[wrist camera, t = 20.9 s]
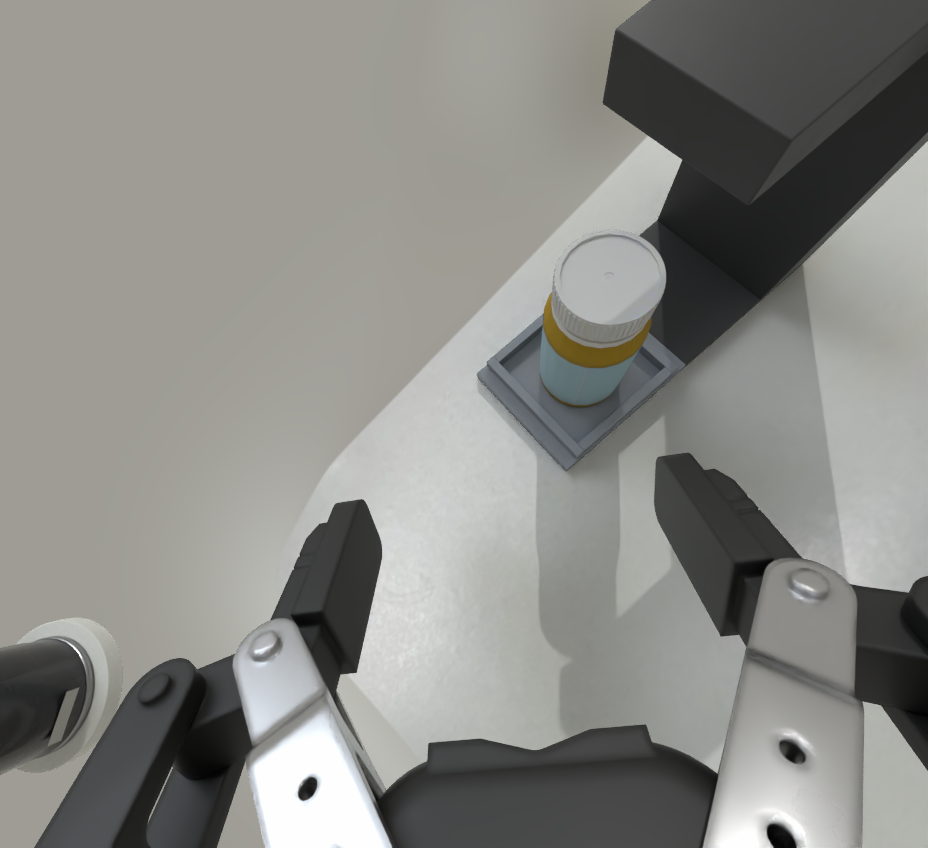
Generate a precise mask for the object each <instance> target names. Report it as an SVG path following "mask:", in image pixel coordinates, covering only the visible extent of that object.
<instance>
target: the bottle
mask: <svg viewBox="0 0 928 848" xmlns="http://www.w3.org/2000/svg"><path fill="white" fill-rule="evenodd" d="M665 284H666V270H665V265H664V262H663V260H662V258H661V256H660V254H659V253H658V251H657V250H656V249H655V248H654V247H653V246H652V245H651V244H650V243H649V242H648V241H646V240H645V239H643V238H642V237H640V236H638V235H635V234H633V233H630V232H626V231H622V230H601V231H596V232H592V233H589V234H587V235H584V236H582V237H580V238H579V239H577V240H576V241H574V242H573V243H572V244H571V245H569V246H568V247H567V248H566V250H565V251H564V252H563V254H562V255H561V257H560V258H559V260H558V263H557V264H556V268H555V270H554V276H553V286H552V292H551V294H550V296H549V298H548V300H547V303H546V305H545V309H544V314H543V327H542V341H541V354H540V377H541V380H542V383H543V386H544V387H545V389H546V390H547V391H548V393H549V394H550V395H551V396H552V397H554V398H555V399H556V400H558V401H559V402H561V403H564V404H566V405H569V406H574V407H587V406H591V405H595V404H598V403H600V402H601V401H603V400H605V399H606V398H608V397H609V396H610V395H611V393H612V392H613V391H614V390H615V388H616V387H617V386H618V384H619V382H620V381H621V379H622V378H623V376H624V374H625V373H626V371H627V369H628V368H629V366H630V364H631V363H632V361H633V360H634V358H635V356H636V355H637V353H638V351H639V350H640V348H641V347H642V345H643V343H644V341H645V339H646V337H647V335H648V332H649V329H650V327H651V316H652V314H653V312H654V310H655V309H656V307H657V305H658V303H659V302H660V300H661V298H662V295H663V293H664V289H665Z"/></svg>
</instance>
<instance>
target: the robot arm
mask: <svg viewBox="0 0 928 848" xmlns="http://www.w3.org/2000/svg"><path fill="white" fill-rule="evenodd" d="M654 506H655V512H656V516H657V519H658V522H659V524H660V526H661V528H662V530H663V531H664V533H665V535H666V537H667V539H668V541H669V542H670V544H671V546H672V548H673V550H674V551H675V553H676V555H677V557H678V559H679V561H680V562H681V564H682V566H683V568H684V570H685V572H686V573H687V575H688V577H689V579H690V581H691V582H692V584H693V586H694V588H695V590H696V592H697V593H698V595H699V597H700V599H701V601H702V603H703V604H704V606H705V608H706V610H707V612H708V613H709V615H710V617H711V619H712V621H713V623H714V624H715V626H716V628H717V630H718V632H719V634H720V635H721V636H731V635H740V637H741V638H742V640H743V642H744V644H745V645H746V652H745V656H744V660H743V665H742V669H741V674H740V678H739V682H738V687H737V691H736V696H735V700H734V704H733V709H732V713H731V718H730V722H729V727H728V731H727V735H726V740H725V744H724V748H723V753H722V757H721V761H720V766H719V770H718V774H717V773H716V772H714V771H713V770H712V769H710V768H709V767H707V766H706V765H704V764H703V763H701V762H699V761H698V760H696V759H694V758H693V757H691V756H689V755H687V754H685V753H682V752H680V751H678V750H676V749H673V748H670V747H667V746H664V745H661V744H657V743H652V742H651V739H650V736H649V732H648V729H647V726H646V725H634V726H623V727H611V728H599V729H590V730H587V731H585V732H583V733H580V734H578V735H575V736H573V737H570V738H568V739H565V740H563V741H561V742H558V743H556V744H553V745H551V746H548V747H546V748H543V749H540V750H529V749H524V748H520V747H515V746H511V745H506V744H502V743H497V742H493V741H488V740H484V739H471V740H459V741H447V742H435V743H429V745H428V760H427V762H424V763H422V764H420V765H418V766H416V767H415V768H413V769H411V770H410V771H408V772H407V773H406V774H404V775H403V776H402V777H400V778H399V779H398V780H397V781H396V782H395V783H393V784H392V785H391V786H390V787H389V789H387V790H386V788H385V786H384V784H383V783H382V781H381V779H380V777H379V775H378V773H377V772H376V770H375V768H374V766H373V765H372V762H371V760H370V758H369V756H368V754H367V752H366V750H365V748H364V746H363V744H362V742H361V740H360V737H359V735H358V733H357V731H356V729H355V727H354V725H353V723H352V721H351V718H350V716H349V714H348V712H347V710H346V708H345V706H344V704H343V702H342V700H341V697H340V696H339V693H338V692H337V690H336V689H337V685H338V681H339V677H340V674H349V673H357V668H358V664H359V659H360V655H361V650H362V646H363V641H364V637H365V632H366V628H367V623H368V619H369V614H370V610H371V605H372V601H373V596H374V592H375V587H376V583H377V578H378V574H379V569H380V565H381V560H382V545H381V540H380V537H379V534H378V532H377V529H376V527H375V524H374V522H373V519H372V516H371V514H370V511H369V509H368V506H367V504H366V502H365V501H364V500H362V499H361V500H354V501H347V502H340V503H336V504H335V505H334V507H333V509H332V512H331V514H330V517H329V519H328V522H327V523H322V524H319V525H318V526H317V527H316V528H315V529H314V531H313V532H312V533H311V534H310V535H309V536H308V537H307V538H306V541H305V543H304V545H303V548H302V550H301V552H300V557H298V559H297V561H296V563H295V566H294V570H292V572H291V575H290V577H289V579H288V582H287V584H286V586H285V588H284V591H283V593H282V595H281V597H280V600H279V602H278V604H277V606H276V609H275V611H274V613H273V616H272V618H271V620H270V621H268V622H266V623H264V624H262V625H260V626H258V627H257V628H256V629H254V630H253V631H252V632H251V633H250V634H248V635H247V637H246V638H245V639H244V640H243V641H242V642H241V644H240V645H239V647H238V649H237V651H236V653H235V654H233V655H231V656H229V657H226V658H224V659H222V660H219V661H217V662H214V663H212V664H209V665H207V666H205V667H202V668H200V669H196V667H195V666H194V665H193V664H192V663H191V662H190V661H189V660H187V659H183V658H177V659H172V660H169V661H166V662H164V663H162V664H160V665H158V666H156V667H155V668H153V669H152V670H150V671H149V672H148V673H146V674H145V675H144V676H143V677H142V678H141V679H140V680H139V681H138V682H137V683H136V684H135V685H134V686H133V687H132V688H131V690H130V691H129V693H128V694H127V695H126V697H125V699H124V700H123V702H122V704H121V705H120V707H119V709H118V710H117V712H116V713H115V715H114V717H113V718H112V720H111V722H110V723H109V725H108V727H107V728H106V730H105V732H104V733H103V735H102V737H101V738H100V740H99V742H98V743H97V745H96V747H95V748H94V750H93V751H92V753H91V755H90V756H89V758H88V760H87V762H86V763H85V765H84V766H83V768H82V770H81V771H80V773H79V775H78V776H77V778H76V780H75V781H74V783H73V785H72V786H71V788H70V790H69V791H68V793H67V794H66V796H65V798H64V799H63V801H62V803H61V805H60V806H59V808H58V809H57V811H56V813H55V814H54V816H53V818H52V819H51V821H50V823H49V824H48V826H47V828H46V829H45V831H44V833H43V834H42V836H41V837H40V839H39V841H38V842H37V844H36V846H35V847H34V848H217V845H218V842H219V839H220V836H221V833H222V830H223V827H224V824H225V821H226V818H227V815H228V812H229V808H230V805H231V803H232V800H233V797H234V793H235V791H236V787H237V784H238V782H239V778H240V776H241V772H242V769H243V766H244V763H245V760H246V767H247V772H248V776H249V781H250V785H251V789H252V794H253V798H254V802H255V806H256V811H257V815H258V820H259V824H260V828H261V832H262V837H263V841H264V846H265V848H862V821H863V756H864V708H863V703H862V701H864V702H868V703H873V704H878V705H881V706H882V707H883V709H884V710H885V711H886V713H887V714H888V716H889V717H890V718H891V720H892V721H893V723H894V724H895V726H896V727H897V728H898V730H899V731H900V733H901V734H902V735H903V737H904V738H905V740H906V741H907V742H908V744H909V745H910V747H911V748H912V749H913V751H914V752H915V754H916V755H917V756H918V758H919V759H920V761H921V762H922V763H923V765H924V766H925V768H926V769H927V770H928V576H926V577H922V578H920V579H918V580H917V581H915V583H914V584H913V585H912V587H911V589H910V591H909V593H906V592H899V591H891V590H884V589H877V588H869V587H862V586H856V585H852V584H849V583H848V582H847V581H846V580H845V579H844V578H843V577H842V576H841V575H839V574H838V573H836V572H835V571H834V570H832V569H830V568H828V567H826V566H824V565H822V564H820V563H817V562H814V561H811V560H807V559H803V558H802V557H801V556H800V555H799V554H798V553H797V552H796V551H795V549H794V548H793V547H792V546H791V545H790V544H789V543H788V541H787V540H786V539H785V538H784V537H783V536H782V535H781V533H780V532H779V531H778V530H777V529H776V528H775V526H774V525H773V524H772V523H771V522H770V521H769V520H768V518H767V517H766V516H765V515H764V514H763V513H762V512H761V510H758V507H757V506H756V505H755V504H754V502H753V501H752V500H751V499H750V498H748V497H747V494H746V493H745V492H744V491H743V490H742V489H741V487H740V486H739V485H738V484H737V483H736V482H735V481H734V480H733V479H731V478H730V477H728V476H726V475H724V474H723V473H721V472H719V471H718V470H716V469H710V470H704V469H703V468H702V467H701V466H700V464H699V463H698V462H697V461H696V459H695V458H694V457H693V456H692V455H691V454H690V453H682V454H675V455H668V456H661V457H658V458H657V460H656V470H655V493H654ZM94 687H95V679H94V670H93V666H92V662H91V660H90V657H89V655H88V654H87V652H86V650H85V649H84V648H83V647H82V646H81V645H80V644H79V643H78V642H77V641H75V640H73V639H71V638H68V637H65V636H51V637H47V638H42V639H39V640H36V641H33V642H30V643H21V644H17V645H13V646H8V647H3V648H0V775H2V774H4V773H6V772H8V771H10V770H12V769H14V768H17V767H19V766H21V765H23V764H25V763H27V762H30V761H32V760H34V759H37V758H41V757H44V756H46V755H48V754H50V753H53V752H55V751H57V750H58V749H60V748H62V747H63V746H64V745H66V744H67V743H68V742H69V741H70V740H71V739H72V738H73V737H74V736H75V735H76V733H77V732H78V731H79V729H80V728H81V726H82V725H83V723H84V721H85V719H86V717H87V715H88V713H89V710H90V707H91V704H92V700H93V695H94ZM171 767H173V769H172V772H171V774H170V776H169V778H168V781H167V783H166V785H165V787H164V790H163V792H162V794H161V796H160V798H159V801H158V803H157V805H156V807H155V810H154V812H153V814H152V816H151V818H150V820H149V823H148V819H149V816H150V814H151V811H152V809H153V807H154V805H155V802H156V800H157V798H158V796H159V794H160V791H161V789H162V787H163V785H164V783H165V780H166V778H167V776H168V774H169V771H170V769H171ZM147 823H148V825H147Z"/></svg>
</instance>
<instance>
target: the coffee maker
mask: <svg viewBox="0 0 928 848" xmlns="http://www.w3.org/2000/svg"><path fill="white" fill-rule="evenodd" d="M603 104H604V105H605V106H607V107H609V108H610V109H611V110H613V111H614V112H615V113H617V114H618V115H620V116H621V117H622V118H624V119H625V120H627V121H628V122H630V123H631V124H632V125H634V126H635V127H637V128H638V129H640V130H641V131H642V132H644V133H645V134H647V135H648V136H650V137H651V138H652V139H654V140H655V141H657V142H658V143H659V144H661V145H662V146H664V147H665V148H667V149H668V150H669V151H671V152H672V153H674V154H675V155H677V156H678V157H679V158H681V159H682V162H681V165H680V167H679V170H678V172H677V175H676V177H675V179H674V182H673V184H672V187H671V189H670V191H669V194H668V196H667V199H666V201H665V204H664V206H663V208H662V211H661V213H660V216H659V218H658V220H657V221H656V222H655V223H653V224H652V225H651V226H650V227H649V228H648V229H646V230H645V231H644V232H643V233H642V234H641V235H639V236H640V237H642V238H643V239H645V240H646V241H648V242H649V243H650V244H651V245H652V246H653V247H654V248H655V249H656V250H657V251H658V253H659V254H660V256H661V258H662V260H663V262H664V265H665V270H666V284H665V289H664V293H663V295H662V298H661V300H660V302H659V303H658V305H657V307H656V309H655V310H654V312H653V314H652V316H651V327H650V329H649V332H648V335H647V337H646V339H645V341H644V343H643V345H642V347H641V348H640V350H639V351H638V353H637V355H636V356H635V358H634V360H633V361H632V363H631V364H630V366H629V368H628V369H627V371H626V373H625V374H624V376H623V378H622V379H621V381H620V382H619V384H618V386H617V387H616V388H615V390H614V391H613V392H612V393H611V395H610V396H609V397H608V398H606V399H605V400H603V401H601V402H600V403H598V404H595V405H591V406H587V407H574V406H569V405H566V404H564V403H561V402H559V401H558V400H556V399H555V398H554V397H552V396H551V395H550V394H549V393H548V391H547V390H546V389H545V387H544V386H543V383H542V380H541V377H540V354H541V341H542V327H543V315H541V316H540V317H539V318H538V319H537V320H536V321H534V322H533V323H532V324H531V325H530V326H528V327H527V328H526V329H525V330H524V331H523V332H521V333H520V334H519V335H518V336H517V337H516V338H514V339H513V340H512V341H511V342H510V343H508V344H507V345H506V346H505V347H504V348H503V349H501V350H500V351H499V352H498V353H497V354H496V355H494V356H493V357H492V358H491V359H490V360H488V361H487V366H485V367H484V368H483V369H482V370H481V371H479V372H478V373H477V376H478V378H479V379H480V380H481V381H482V383H483V384H484V385H485V386H486V387H487V388H488V389H489V390H490V391H491V392H492V393H493V394H494V395H495V396H496V397H497V399H498V400H499V401H500V402H501V403H502V404H503V405H504V406H505V407H506V408H507V409H508V410H509V411H510V412H511V413H512V415H513V416H514V417H515V418H516V419H517V420H518V421H519V422H520V423H521V424H522V425H523V426H524V427H525V428H526V430H527V431H528V432H529V433H530V434H531V435H532V436H533V437H534V438H535V439H536V440H537V441H538V442H539V443H540V444H541V446H542V447H543V448H544V449H545V450H546V451H547V452H548V453H549V454H550V455H551V456H552V457H553V458H554V459H555V461H556V462H557V463H558V464H559V465H560V466H561V467H562V468H563V469H564V470H565V471H567V470H568V469H570V468H571V467H572V466H573V465H574V464H575V463H576V462H578V461H579V460H580V459H581V458H582V457H583V456H584V455H586V454H587V453H588V452H589V451H590V450H591V449H592V448H594V447H595V446H596V445H597V444H598V443H599V442H600V441H601V440H603V439H604V438H605V437H606V436H607V435H608V434H609V433H611V432H612V431H613V430H614V429H615V428H616V427H617V426H619V425H620V424H621V423H622V422H623V421H624V420H625V419H626V418H628V417H629V416H630V415H631V414H632V413H633V412H634V411H636V410H637V409H638V408H639V407H640V406H641V405H642V404H644V403H645V402H646V401H647V400H648V399H649V398H650V397H652V396H653V395H654V394H655V393H656V392H657V391H658V390H659V389H661V388H662V387H663V386H664V385H665V384H666V383H667V382H669V381H670V380H671V379H672V378H673V377H674V376H675V375H677V374H678V373H679V372H680V371H681V370H682V369H683V368H684V367H686V366H687V365H688V364H689V363H690V362H691V361H692V360H694V359H695V358H696V357H697V356H698V355H699V354H700V353H702V352H703V351H704V350H705V349H706V348H707V347H708V346H710V345H711V344H712V343H713V342H714V341H715V340H716V339H717V338H719V337H720V336H721V335H722V334H723V333H724V332H725V331H727V330H728V329H729V328H730V327H731V326H732V325H733V324H735V323H736V322H737V321H738V320H739V319H740V318H741V317H742V316H744V315H745V314H746V313H747V312H748V311H749V310H750V309H752V308H753V307H754V306H755V305H756V304H757V303H758V302H760V301H761V300H762V299H763V298H764V297H765V296H766V295H768V294H769V293H770V292H771V291H772V290H773V289H774V288H775V287H777V286H778V285H779V284H780V283H781V282H782V281H783V280H785V279H786V278H787V277H788V276H789V275H790V274H791V273H793V272H794V271H795V270H796V269H797V268H798V267H799V266H801V265H802V264H803V263H804V262H805V261H806V260H807V259H808V258H809V257H810V256H811V255H812V254H813V253H814V252H815V251H816V250H817V249H818V248H819V247H820V246H821V245H822V244H823V243H824V242H825V241H826V240H827V239H828V238H829V237H830V236H831V235H832V234H833V233H834V232H835V231H836V230H837V229H838V228H839V227H840V226H842V225H843V224H844V223H845V222H846V221H847V220H848V219H849V218H850V217H851V216H852V215H853V214H854V213H855V212H856V211H857V210H858V209H859V208H860V207H861V206H862V205H863V204H864V203H865V202H866V201H867V200H868V199H869V198H870V197H871V196H872V195H873V194H874V193H875V192H876V191H877V190H878V189H879V188H880V187H881V186H882V185H883V184H884V183H885V182H886V181H887V180H888V179H889V178H890V177H891V176H892V175H893V174H894V173H895V172H897V171H898V170H899V169H900V168H901V167H902V166H903V165H904V164H905V163H906V162H907V161H908V160H909V159H910V158H911V157H912V156H913V155H914V154H915V153H916V152H917V151H918V150H919V149H920V148H921V147H922V146H923V145H924V144H925V143H926V142H927V141H928V0H651V1H650V2H648V3H647V4H646V5H645V6H644V7H642V8H641V9H640V10H639V11H637V12H636V13H635V14H634V15H632V16H631V17H630V18H629V19H628V20H626V21H625V22H624V23H623V24H621V25H620V26H619V27H618V28H617V29H616V31H615V35H614V41H613V46H612V52H611V58H610V64H609V69H608V75H607V81H606V86H605V92H604V98H603Z"/></svg>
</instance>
